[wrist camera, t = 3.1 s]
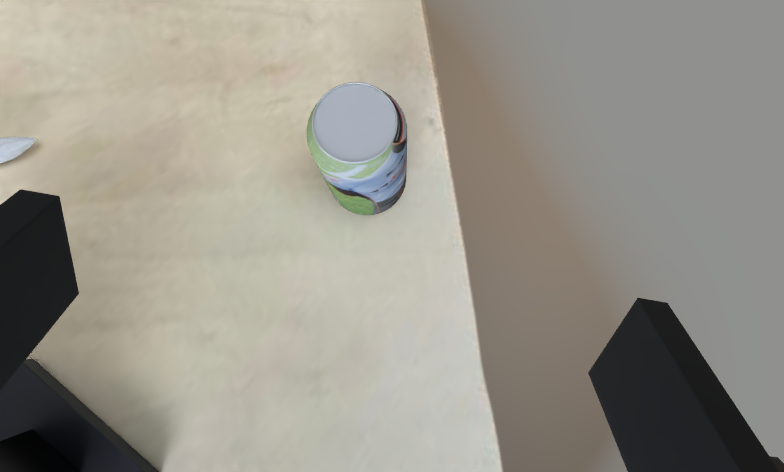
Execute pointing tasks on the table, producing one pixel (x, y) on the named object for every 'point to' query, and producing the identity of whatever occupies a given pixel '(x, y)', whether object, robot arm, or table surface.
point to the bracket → (56, 430)
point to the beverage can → (360, 146)
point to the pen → (14, 147)
